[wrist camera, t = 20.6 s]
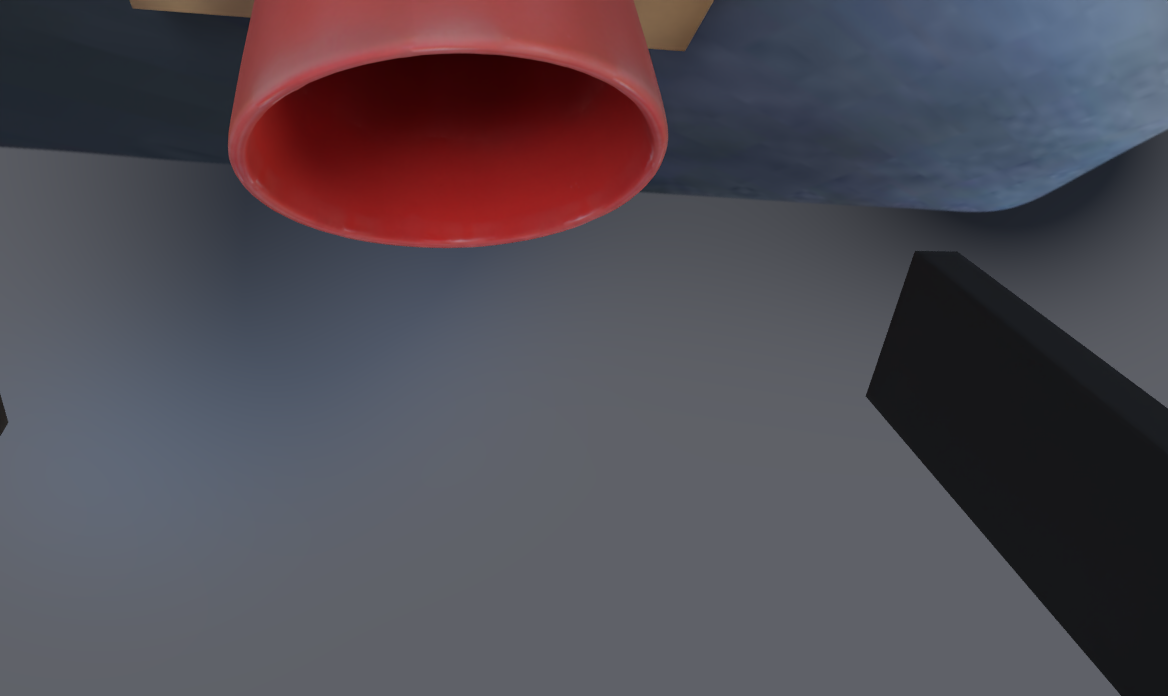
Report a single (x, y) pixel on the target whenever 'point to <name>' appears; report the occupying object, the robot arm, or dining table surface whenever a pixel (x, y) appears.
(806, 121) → the dining table surface
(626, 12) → the flower pot
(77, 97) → the dining table surface
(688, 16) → the wooden trivet
